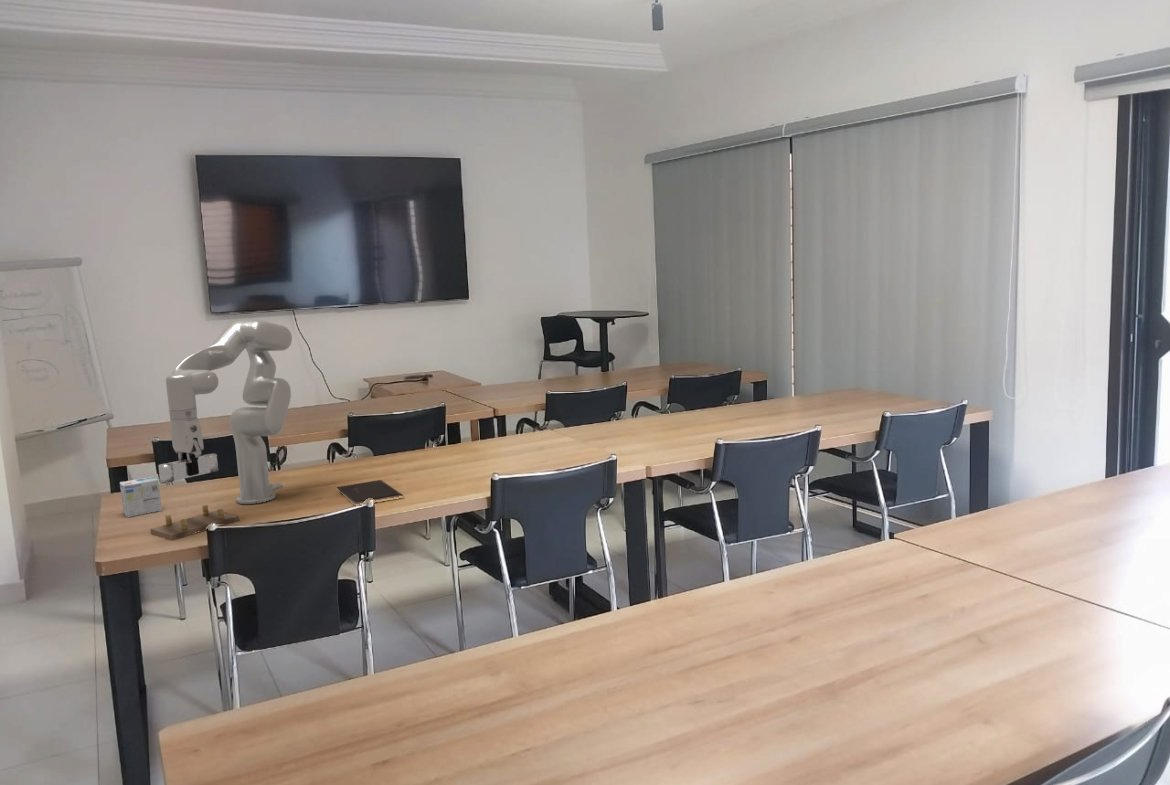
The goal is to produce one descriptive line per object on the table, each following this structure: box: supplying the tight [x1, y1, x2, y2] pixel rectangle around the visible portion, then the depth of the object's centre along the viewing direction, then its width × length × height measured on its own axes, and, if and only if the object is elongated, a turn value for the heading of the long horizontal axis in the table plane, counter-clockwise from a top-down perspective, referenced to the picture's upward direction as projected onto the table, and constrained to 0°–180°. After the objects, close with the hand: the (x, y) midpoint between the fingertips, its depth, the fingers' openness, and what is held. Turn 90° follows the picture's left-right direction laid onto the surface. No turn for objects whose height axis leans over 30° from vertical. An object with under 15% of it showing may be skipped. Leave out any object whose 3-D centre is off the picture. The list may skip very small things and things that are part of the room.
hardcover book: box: [336, 479, 404, 505], centre depth 299 cm, size 16×23×2 cm
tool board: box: [150, 504, 241, 541], centre depth 270 cm, size 22×12×4 cm, turn 144°
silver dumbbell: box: [158, 453, 219, 484], centre depth 267 cm, size 18×4×5 cm, turn 144°
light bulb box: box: [119, 475, 163, 518], centre depth 288 cm, size 11×7×11 cm, turn 129°
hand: (190, 473), depth 268 cm, fingers closed on silver dumbbell, 3 cm apart
